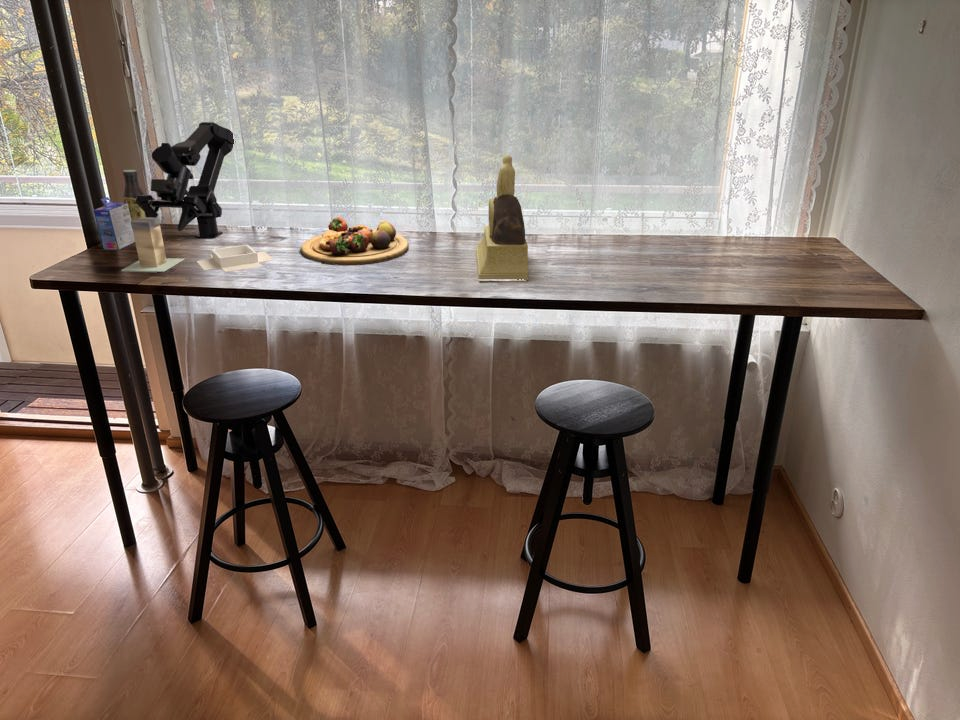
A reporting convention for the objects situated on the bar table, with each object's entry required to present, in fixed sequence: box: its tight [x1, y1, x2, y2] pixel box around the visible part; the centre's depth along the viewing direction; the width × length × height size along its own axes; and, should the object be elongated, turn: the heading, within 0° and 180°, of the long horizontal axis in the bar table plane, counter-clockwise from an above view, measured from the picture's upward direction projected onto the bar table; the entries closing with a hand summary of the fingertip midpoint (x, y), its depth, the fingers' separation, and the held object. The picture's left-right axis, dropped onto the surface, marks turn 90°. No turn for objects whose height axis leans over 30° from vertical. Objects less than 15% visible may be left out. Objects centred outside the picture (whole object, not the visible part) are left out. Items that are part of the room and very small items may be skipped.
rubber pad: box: [121, 257, 185, 273], centre depth 196 cm, size 12×12×1 cm
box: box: [131, 217, 167, 267], centre depth 193 cm, size 5×5×12 cm
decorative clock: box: [475, 154, 529, 281], centre depth 190 cm, size 28×13×30 cm, turn 2°
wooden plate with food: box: [300, 216, 410, 266], centre depth 210 cm, size 32×32×8 cm
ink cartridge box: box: [93, 196, 135, 251], centre depth 212 cm, size 10×6×14 cm, turn 174°
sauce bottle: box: [122, 169, 146, 221], centre depth 226 cm, size 7×6×20 cm
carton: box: [196, 244, 275, 273], centre depth 199 cm, size 19×19×3 cm
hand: (163, 230), depth 200 cm, fingers open, 9 cm apart
